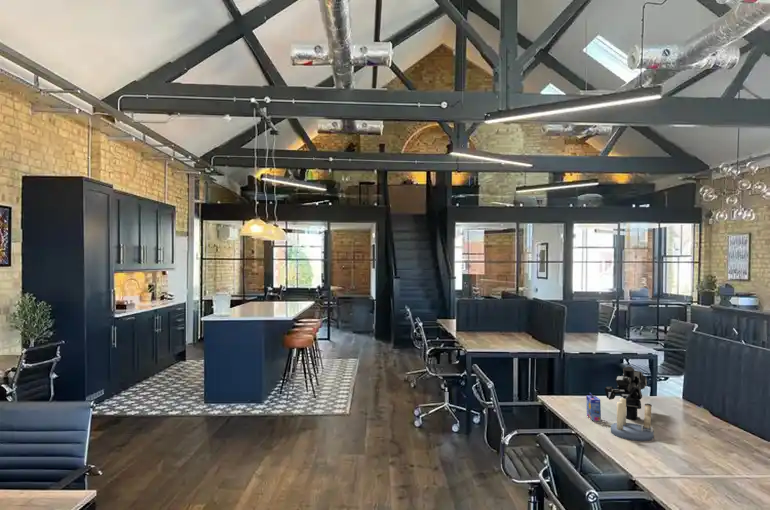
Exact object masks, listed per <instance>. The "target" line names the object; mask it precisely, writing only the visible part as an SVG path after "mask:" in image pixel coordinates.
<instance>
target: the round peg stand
mask: <svg viewBox="0 0 770 510" xmlns="http://www.w3.org/2000/svg"><path fill="white" fill-rule="evenodd" d="M643 426H644V424H637V423H633V422H632V423H631V422H627V418H626V399H624V398H623V397H620V398H619V401H617V402H616V422H615V423H612V424H611V425H610V433H611V434H612V435H613V436H615V437H618V438H621V439H625V440H629V441H636V440H637V441H638V442H640V441H641V442H647V441H651V440H653V439H655V438H654V437H655V435H654V434H655V433H654V432H655V430H653V429H654V428H653V425H650V427H651V430H649V429H643ZM637 441H636V442H637Z"/></svg>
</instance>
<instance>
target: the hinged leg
mask: <svg viewBox="0 0 770 510" xmlns="http://www.w3.org/2000/svg"><path fill="white" fill-rule="evenodd" d="M643 414H644V415H643V416H644V417H643V429H649V430H651V426H652V425H651V422H652V421H651V420H652V404H651V403H645V404H644V413H643Z"/></svg>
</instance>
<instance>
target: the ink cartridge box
mask: <svg viewBox="0 0 770 510" xmlns="http://www.w3.org/2000/svg"><path fill="white" fill-rule="evenodd" d="M585 398H586V417H587V416H588V417H589V418H590V419H591V420H593V421H592V422H602V413H601V412H602V410H601V405H602V404H601V399H600V398H598V397H597V396H596V395H593V393H591V392H589V395H588V394H587V395H586V397H585ZM588 417H587V418H588ZM589 418H588V419H589ZM590 419H589V420H590ZM591 420H590V421H591Z"/></svg>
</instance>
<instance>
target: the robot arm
mask: <svg viewBox="0 0 770 510" xmlns="http://www.w3.org/2000/svg"><path fill="white" fill-rule="evenodd" d="M622 372H623V374H622V375H621V376H620V375H618V376H616V379H615V382H616V384H617V386H616V388H617V389H616V388H614V386H606V387H604V392H605V395H606V398H607V399H608V400H610V401H611V400H614V399H615V398H616V395H620V398H624V399H626V419H629V420H634V421H635V420H636V421H637V420H639V419H641V417H640V416H638V410H641V409H642V402H641V399H642V398H643V394H642V391H641V390H645V388H646V387H647V384H648V381H647V377H646V375H644V374H643V372H642V371H639V370H635V368H634V367H632V366H625V367H623V368H622Z"/></svg>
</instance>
